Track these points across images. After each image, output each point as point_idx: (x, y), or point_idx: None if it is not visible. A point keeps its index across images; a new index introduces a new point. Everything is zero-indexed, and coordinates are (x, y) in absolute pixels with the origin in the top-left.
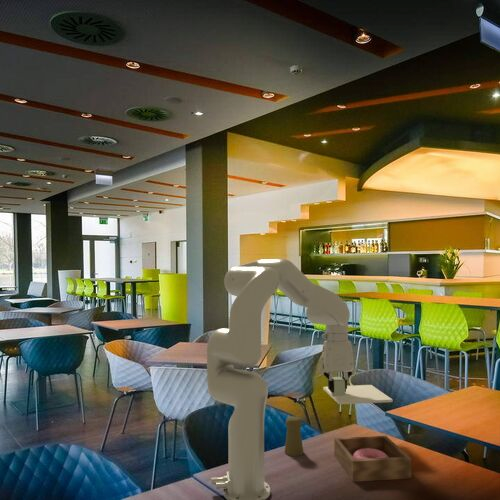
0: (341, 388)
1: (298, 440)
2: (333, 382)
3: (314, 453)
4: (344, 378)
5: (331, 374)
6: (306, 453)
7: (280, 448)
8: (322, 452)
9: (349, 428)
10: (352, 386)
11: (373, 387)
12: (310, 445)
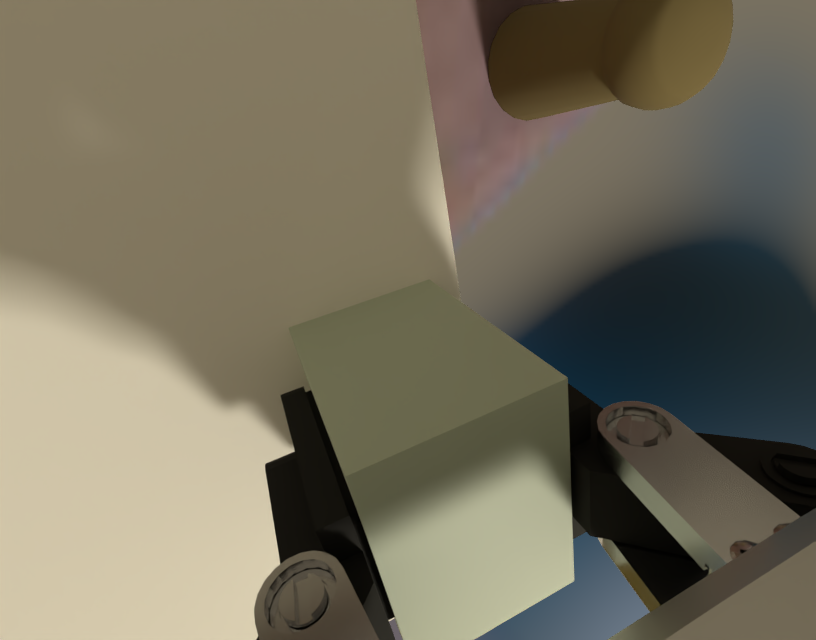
0: (371, 354)
1: (568, 6)
2: None
3: (432, 51)
4: (349, 587)
5: (713, 500)
6: (474, 49)
7: (584, 115)
8: None
9: None
10: None
11: None
12: (444, 173)
